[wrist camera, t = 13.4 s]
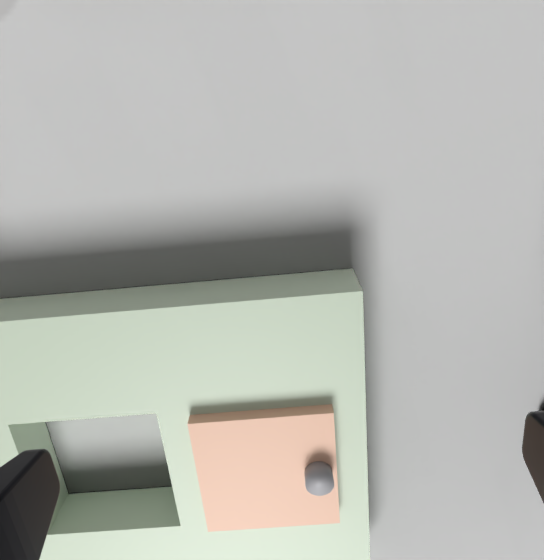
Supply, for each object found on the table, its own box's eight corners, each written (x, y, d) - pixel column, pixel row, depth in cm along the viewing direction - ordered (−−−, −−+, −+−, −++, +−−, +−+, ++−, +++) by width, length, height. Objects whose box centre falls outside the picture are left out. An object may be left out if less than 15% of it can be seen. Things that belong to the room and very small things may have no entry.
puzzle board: (352, 268, 20) (369, 305, 17) (362, 541, 26) (375, 611, 23) (-17, 300, 21) (-76, 342, 18) (72, 560, 27) (41, 631, 23)
